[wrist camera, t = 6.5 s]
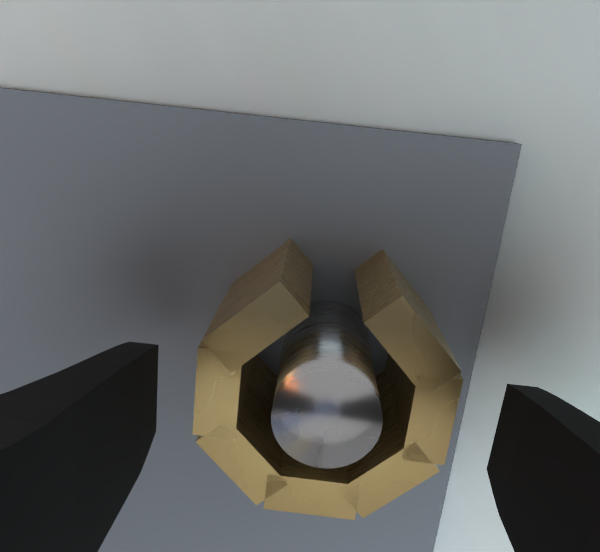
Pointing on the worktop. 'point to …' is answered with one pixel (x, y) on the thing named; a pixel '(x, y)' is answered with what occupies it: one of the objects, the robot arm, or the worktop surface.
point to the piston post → (327, 389)
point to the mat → (229, 275)
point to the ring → (262, 383)
